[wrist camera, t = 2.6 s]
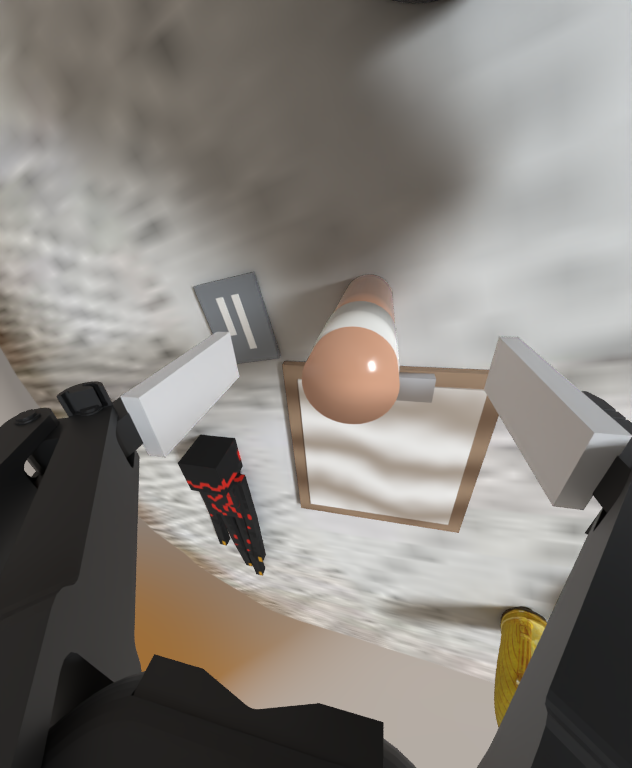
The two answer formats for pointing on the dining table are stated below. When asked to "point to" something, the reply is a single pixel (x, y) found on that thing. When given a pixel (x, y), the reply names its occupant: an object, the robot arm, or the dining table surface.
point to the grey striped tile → (239, 316)
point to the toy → (225, 495)
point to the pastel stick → (356, 356)
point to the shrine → (515, 653)
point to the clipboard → (396, 449)
